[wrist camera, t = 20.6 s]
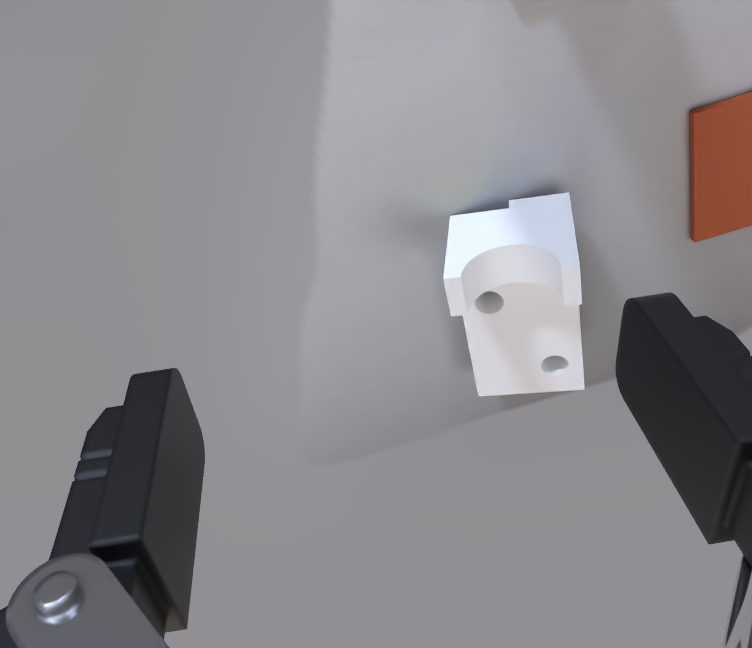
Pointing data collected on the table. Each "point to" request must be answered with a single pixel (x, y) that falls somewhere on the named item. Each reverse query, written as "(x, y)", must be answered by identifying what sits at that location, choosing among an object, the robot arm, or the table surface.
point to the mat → (721, 167)
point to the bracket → (518, 295)
